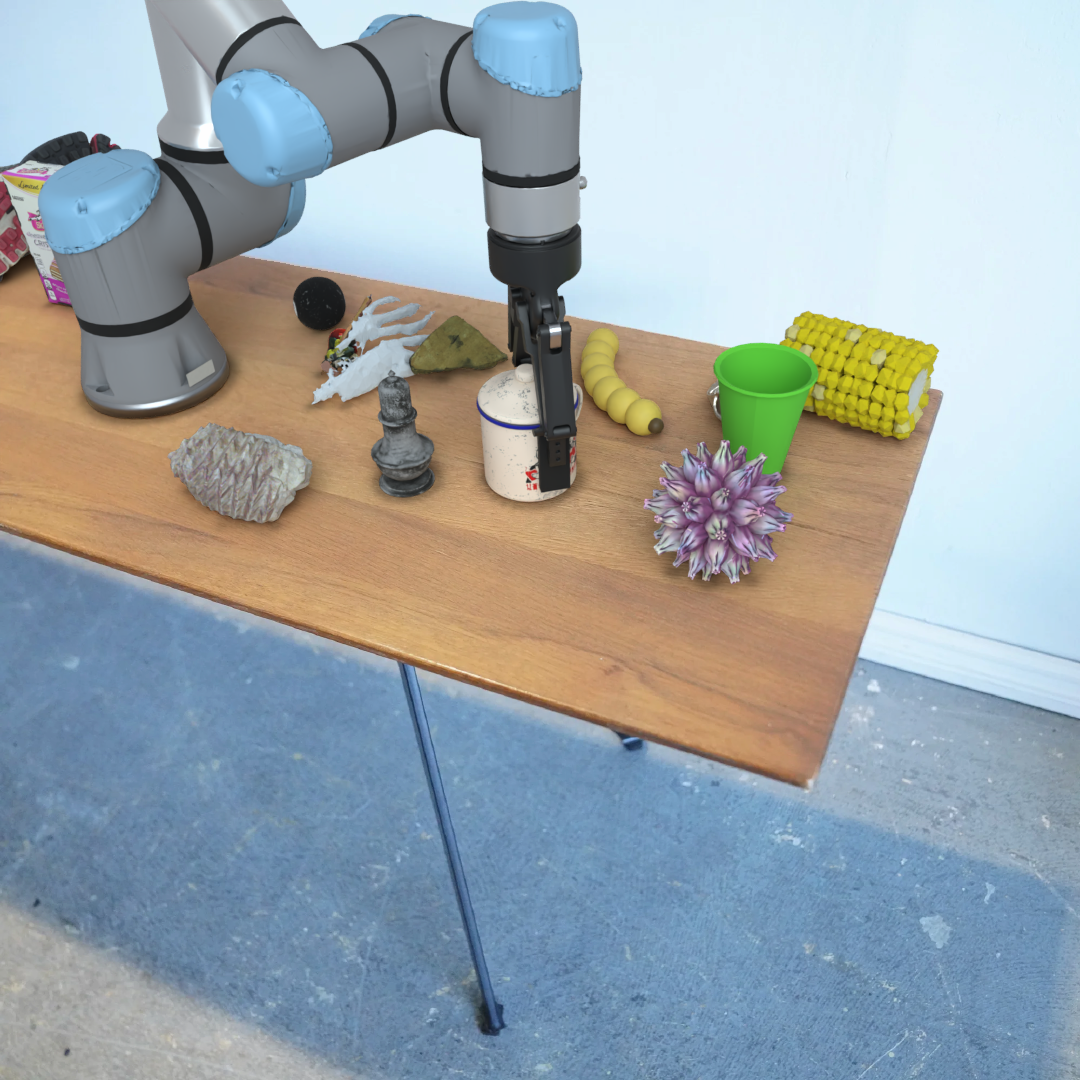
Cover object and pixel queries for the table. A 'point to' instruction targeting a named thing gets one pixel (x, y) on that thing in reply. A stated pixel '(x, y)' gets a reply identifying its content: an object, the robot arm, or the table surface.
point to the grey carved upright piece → (401, 442)
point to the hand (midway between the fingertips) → (542, 457)
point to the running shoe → (3, 234)
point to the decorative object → (375, 351)
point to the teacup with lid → (516, 435)
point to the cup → (763, 398)
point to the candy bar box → (36, 222)
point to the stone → (455, 349)
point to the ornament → (715, 399)
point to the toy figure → (336, 338)
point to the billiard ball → (319, 303)
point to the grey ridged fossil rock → (240, 472)
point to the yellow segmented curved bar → (616, 386)
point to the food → (864, 373)
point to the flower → (718, 511)
